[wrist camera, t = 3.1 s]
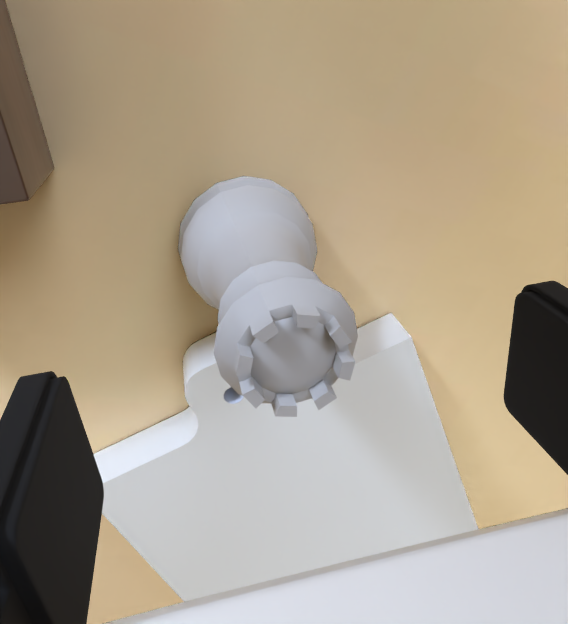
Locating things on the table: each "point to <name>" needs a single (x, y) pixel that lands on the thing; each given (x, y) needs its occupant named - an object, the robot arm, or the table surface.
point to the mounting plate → (287, 474)
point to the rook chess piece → (267, 295)
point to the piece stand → (18, 124)
